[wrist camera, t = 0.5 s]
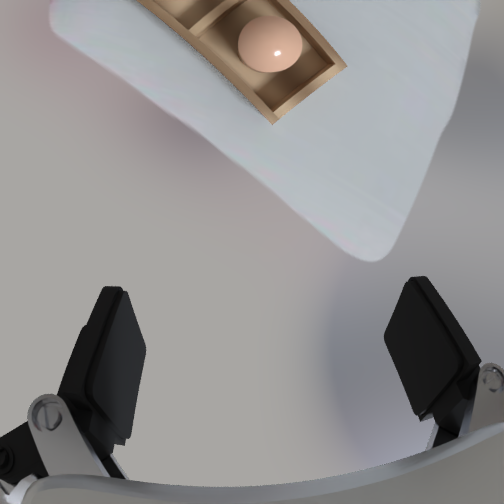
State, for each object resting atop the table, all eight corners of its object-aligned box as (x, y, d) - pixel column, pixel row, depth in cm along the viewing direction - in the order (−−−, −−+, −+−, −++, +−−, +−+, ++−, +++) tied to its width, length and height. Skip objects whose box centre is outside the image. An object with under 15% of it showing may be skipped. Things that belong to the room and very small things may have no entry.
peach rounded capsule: (266, 16, 26) (273, 4, 21) (301, 52, 28) (315, 48, 23) (226, 47, 28) (224, 41, 23) (262, 83, 30) (268, 83, 25)
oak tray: (185, -69, 18) (180, -82, 15) (336, 66, 30) (347, 66, 27) (117, -15, 22) (105, -22, 18) (268, 119, 34) (272, 124, 30)
